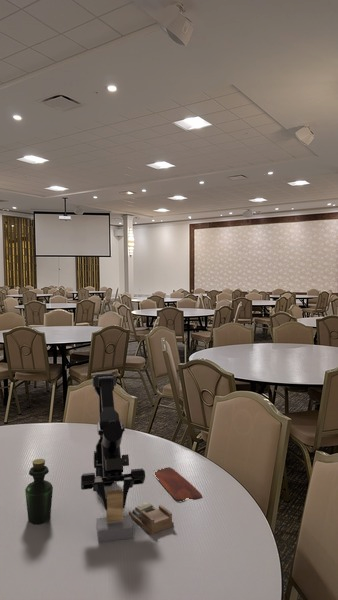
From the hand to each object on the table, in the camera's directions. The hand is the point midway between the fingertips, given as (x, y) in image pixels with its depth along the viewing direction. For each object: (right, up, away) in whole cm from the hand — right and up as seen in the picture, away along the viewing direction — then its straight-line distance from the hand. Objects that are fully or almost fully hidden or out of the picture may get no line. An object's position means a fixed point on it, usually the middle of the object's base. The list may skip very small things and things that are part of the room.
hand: (115, 508), depth 129 cm
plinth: (0, -8, +2) cm, 8 cm away
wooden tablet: (+18, -7, +34) cm, 38 cm away
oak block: (0, -4, +2) cm, 4 cm away
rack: (+10, -8, +8) cm, 15 cm away
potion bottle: (-24, -8, +9) cm, 27 cm away
